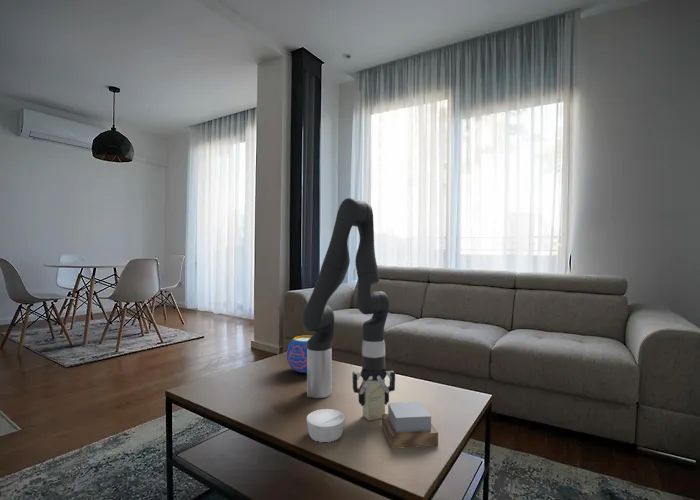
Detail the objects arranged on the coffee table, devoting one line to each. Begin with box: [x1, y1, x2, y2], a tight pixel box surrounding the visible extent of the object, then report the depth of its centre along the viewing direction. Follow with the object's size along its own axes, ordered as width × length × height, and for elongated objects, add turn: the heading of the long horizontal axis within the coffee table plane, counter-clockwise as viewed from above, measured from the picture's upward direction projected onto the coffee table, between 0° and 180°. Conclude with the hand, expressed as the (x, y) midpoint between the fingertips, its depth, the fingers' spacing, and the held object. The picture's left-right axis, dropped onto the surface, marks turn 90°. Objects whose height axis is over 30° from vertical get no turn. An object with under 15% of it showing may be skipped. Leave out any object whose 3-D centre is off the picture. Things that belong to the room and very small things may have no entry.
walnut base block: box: [381, 413, 439, 449], centre depth 106 cm, size 13×13×4 cm
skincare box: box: [362, 378, 386, 421], centre depth 118 cm, size 6×4×12 cm
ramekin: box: [306, 408, 346, 443], centre depth 106 cm, size 11×11×5 cm
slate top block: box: [387, 401, 432, 432], centre depth 106 cm, size 10×10×4 cm
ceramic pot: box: [286, 334, 313, 374], centre depth 162 cm, size 18×18×15 cm
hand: (373, 404), depth 118 cm, fingers closed on skincare box, 7 cm apart
